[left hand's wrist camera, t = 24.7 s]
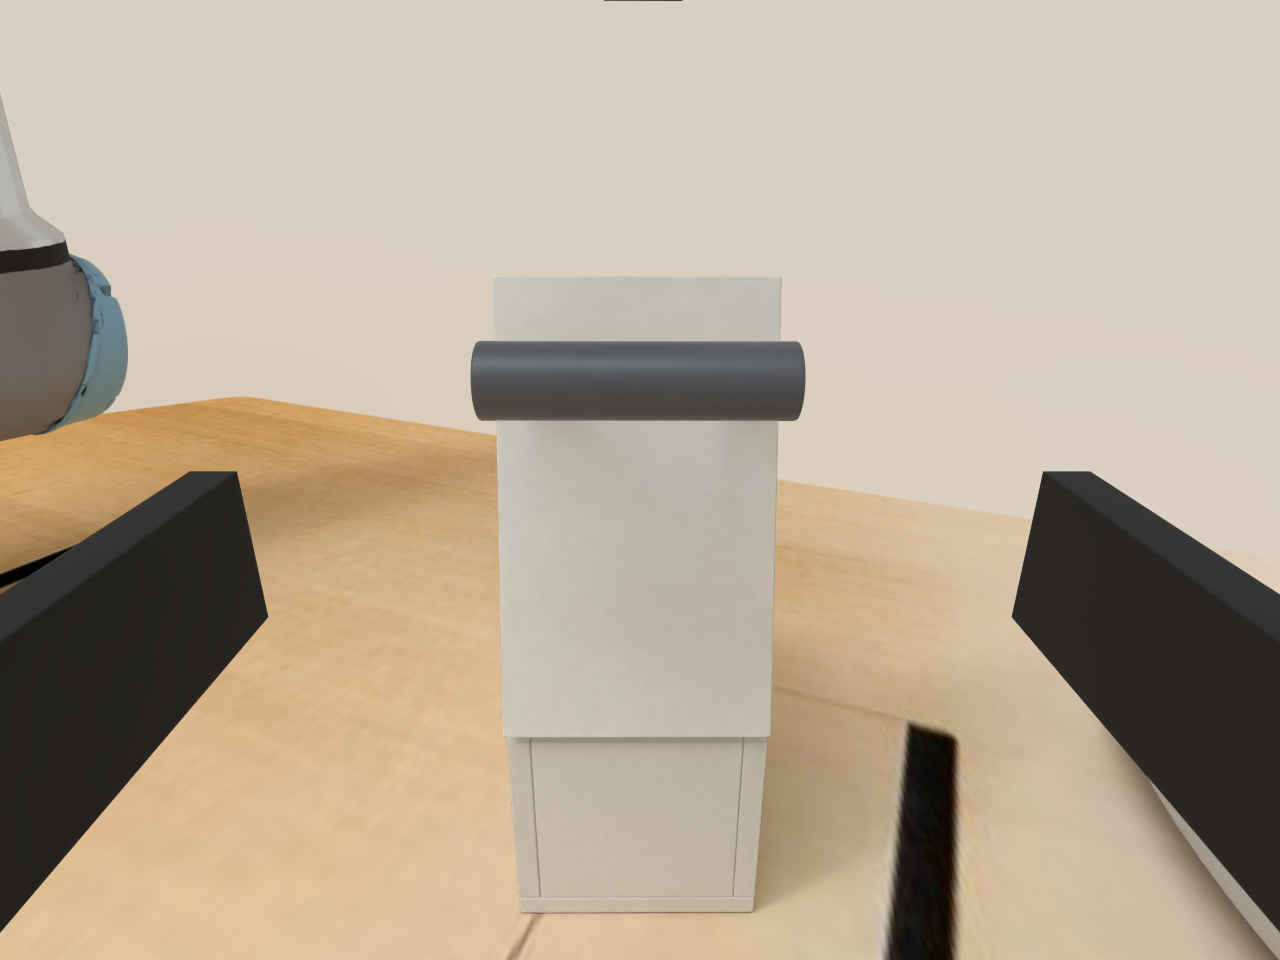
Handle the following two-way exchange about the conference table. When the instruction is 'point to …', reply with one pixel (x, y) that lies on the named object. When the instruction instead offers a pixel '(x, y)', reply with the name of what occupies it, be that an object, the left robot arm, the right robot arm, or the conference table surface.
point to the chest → (636, 822)
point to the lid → (637, 500)
